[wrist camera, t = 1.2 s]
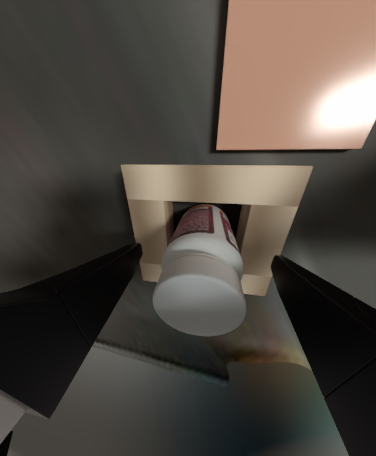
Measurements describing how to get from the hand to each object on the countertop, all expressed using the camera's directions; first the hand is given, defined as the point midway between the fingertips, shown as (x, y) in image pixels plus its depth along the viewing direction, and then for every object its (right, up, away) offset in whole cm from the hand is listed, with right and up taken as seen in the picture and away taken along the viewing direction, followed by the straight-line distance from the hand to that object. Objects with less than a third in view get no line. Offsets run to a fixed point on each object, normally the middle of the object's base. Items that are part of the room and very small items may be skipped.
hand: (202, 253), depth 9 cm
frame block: (+1, +2, +4) cm, 4 cm away
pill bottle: (+1, +2, +4) cm, 5 cm away
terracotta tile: (+6, +11, -1) cm, 12 cm away
